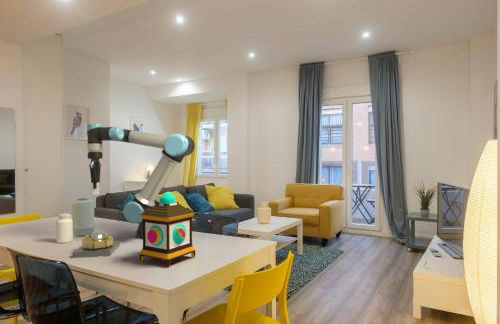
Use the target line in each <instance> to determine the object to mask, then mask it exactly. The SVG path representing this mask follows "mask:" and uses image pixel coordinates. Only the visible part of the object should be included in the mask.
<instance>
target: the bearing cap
mask: <svg viewBox="0 0 500 324" xmlns="http://www.w3.org/2000/svg"><path fill="white" fill-rule="evenodd" d="M105 233H106V232H92V233H91V234H90V235H91V238H93V241H99V240H104V237H105ZM120 246H121V240H113V245H110V246H108V247H103V248H95V249H94V248H93V249H90V248H83V247H82V245H81V246H79V247H77V249H75V250H74V251H73V252H72V259H77V258H78V259H79V258H96V257H97V258H100V257H99V256H104V257H111V256H112V255H113V253H115V252H116V250H118V248H119V247H120Z"/></svg>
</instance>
